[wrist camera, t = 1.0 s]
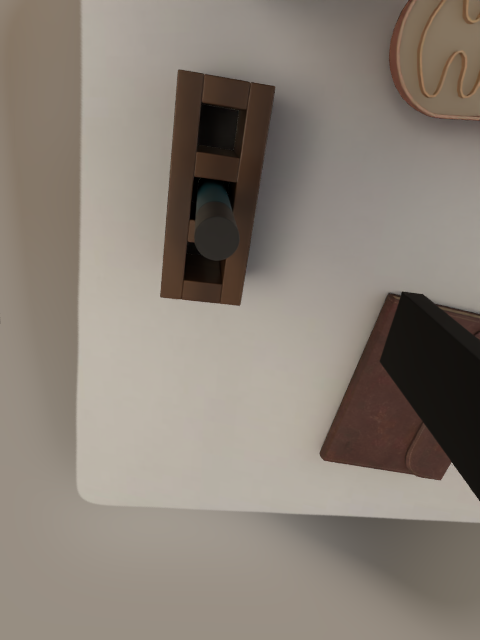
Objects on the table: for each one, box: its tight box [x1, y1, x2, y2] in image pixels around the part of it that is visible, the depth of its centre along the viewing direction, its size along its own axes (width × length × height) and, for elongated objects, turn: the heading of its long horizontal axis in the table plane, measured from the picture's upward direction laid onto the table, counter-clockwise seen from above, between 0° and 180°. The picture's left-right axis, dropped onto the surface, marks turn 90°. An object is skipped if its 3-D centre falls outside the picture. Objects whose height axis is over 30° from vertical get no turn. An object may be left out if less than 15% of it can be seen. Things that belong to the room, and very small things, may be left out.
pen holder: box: [160, 70, 275, 306], centre depth 33 cm, size 6×15×7 cm, turn 172°
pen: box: [194, 178, 240, 261], centre depth 29 cm, size 2×2×17 cm
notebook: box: [320, 293, 480, 480], centre depth 46 cm, size 15×20×2 cm
